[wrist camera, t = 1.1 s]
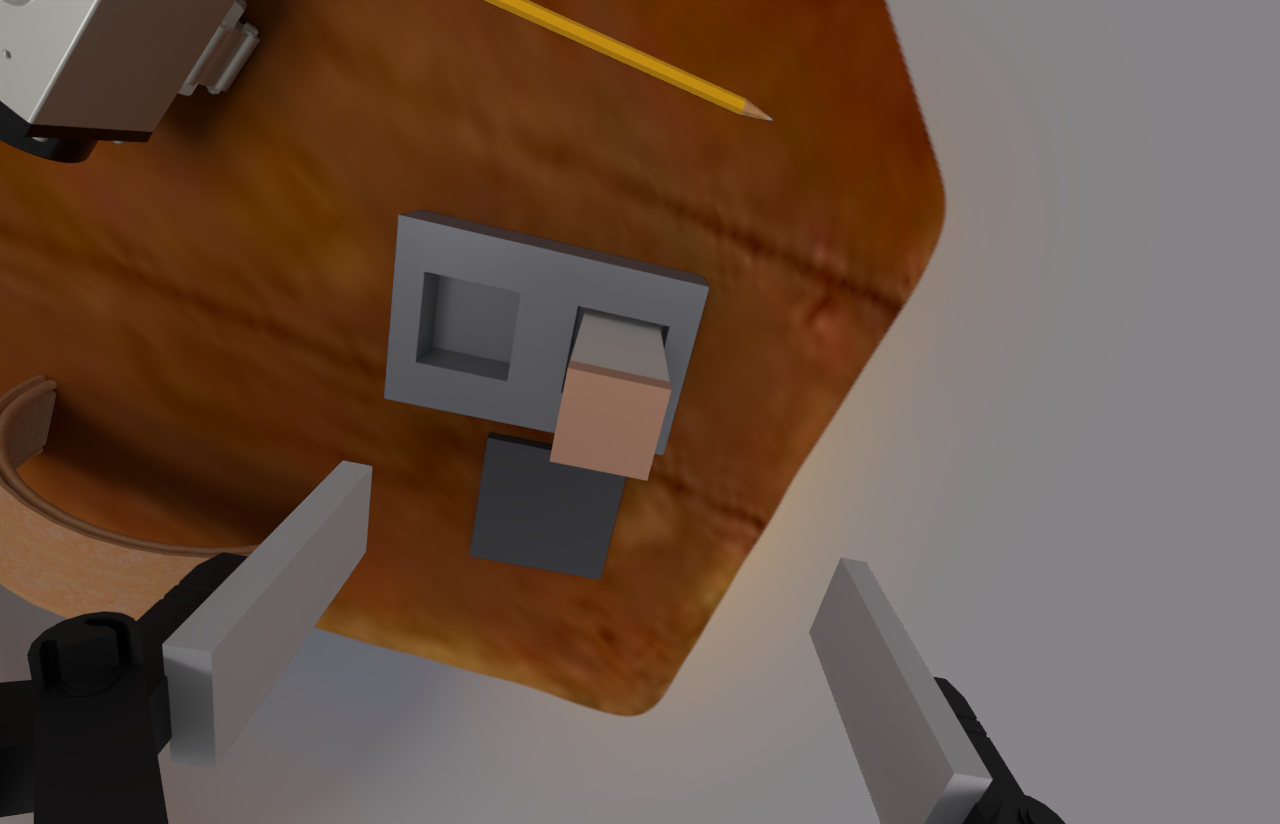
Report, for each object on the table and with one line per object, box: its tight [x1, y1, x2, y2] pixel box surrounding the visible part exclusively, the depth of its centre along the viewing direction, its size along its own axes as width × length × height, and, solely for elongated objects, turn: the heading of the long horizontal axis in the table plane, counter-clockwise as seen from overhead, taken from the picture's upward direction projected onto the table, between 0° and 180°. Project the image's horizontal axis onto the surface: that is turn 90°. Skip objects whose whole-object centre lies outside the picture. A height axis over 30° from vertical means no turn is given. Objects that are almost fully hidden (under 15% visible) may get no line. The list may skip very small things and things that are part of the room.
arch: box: [0, 375, 260, 621], centre depth 35 cm, size 6×20×10 cm, turn 61°
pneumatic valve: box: [0, 0, 260, 163], centre depth 25 cm, size 6×12×12 cm, turn 136°
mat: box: [470, 433, 626, 580], centre depth 40 cm, size 9×9×1 cm
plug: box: [550, 308, 671, 480], centre depth 30 cm, size 4×4×12 cm
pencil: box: [484, 0, 772, 120], centre depth 31 cm, size 1×19×1 cm, turn 69°
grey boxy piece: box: [384, 210, 709, 455], centre depth 34 cm, size 16×10×4 cm, turn 77°
